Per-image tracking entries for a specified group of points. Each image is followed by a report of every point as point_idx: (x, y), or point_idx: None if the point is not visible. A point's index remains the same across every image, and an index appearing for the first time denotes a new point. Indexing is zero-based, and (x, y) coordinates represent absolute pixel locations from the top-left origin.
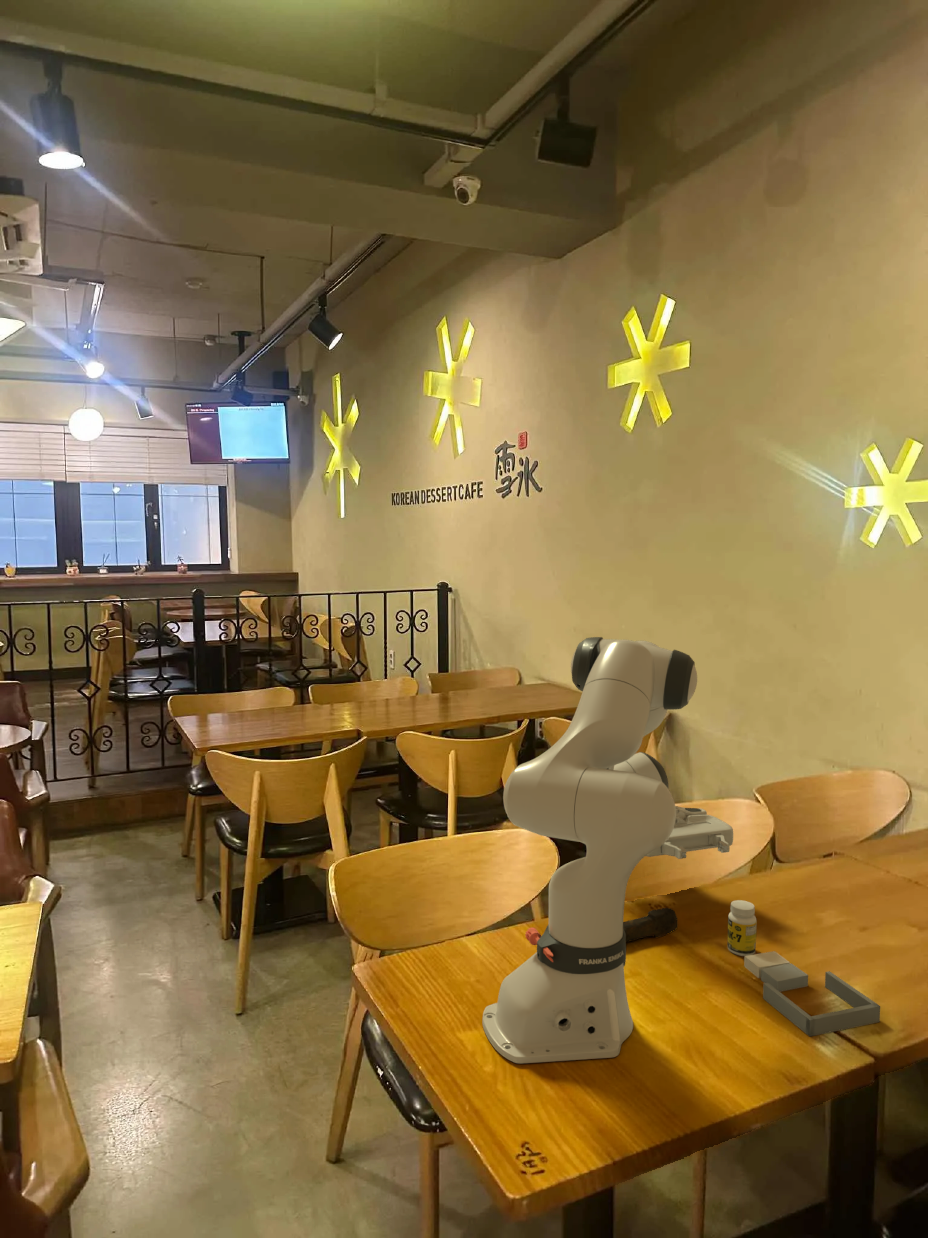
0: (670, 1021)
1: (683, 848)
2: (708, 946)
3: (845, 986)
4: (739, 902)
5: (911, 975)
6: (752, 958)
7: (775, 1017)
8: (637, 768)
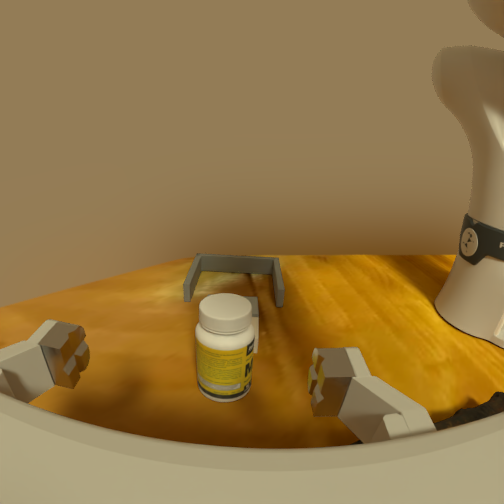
0: (399, 304)
1: (324, 355)
2: (278, 412)
3: (195, 270)
4: (223, 311)
5: (83, 287)
6: None
7: (289, 290)
8: None
